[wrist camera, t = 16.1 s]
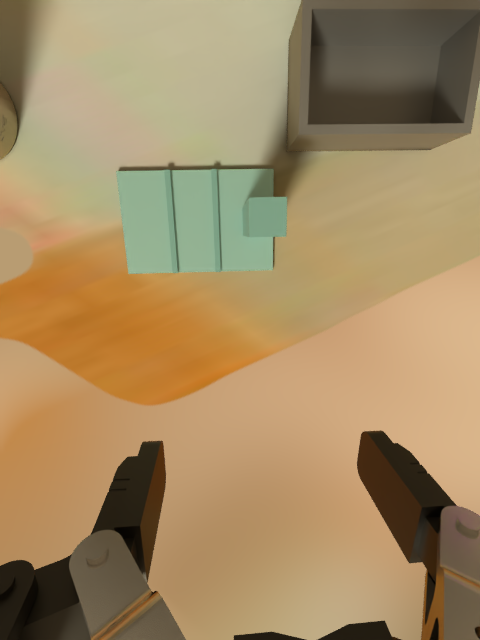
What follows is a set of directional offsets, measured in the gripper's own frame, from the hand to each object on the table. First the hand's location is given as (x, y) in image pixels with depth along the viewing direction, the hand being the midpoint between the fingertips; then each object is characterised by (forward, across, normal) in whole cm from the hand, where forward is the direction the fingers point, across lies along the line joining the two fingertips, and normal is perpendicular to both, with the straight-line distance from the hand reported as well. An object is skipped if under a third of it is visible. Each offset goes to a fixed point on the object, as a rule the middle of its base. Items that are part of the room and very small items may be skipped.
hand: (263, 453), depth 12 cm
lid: (+28, +4, -9) cm, 29 cm away
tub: (+27, -14, -22) cm, 37 cm away
